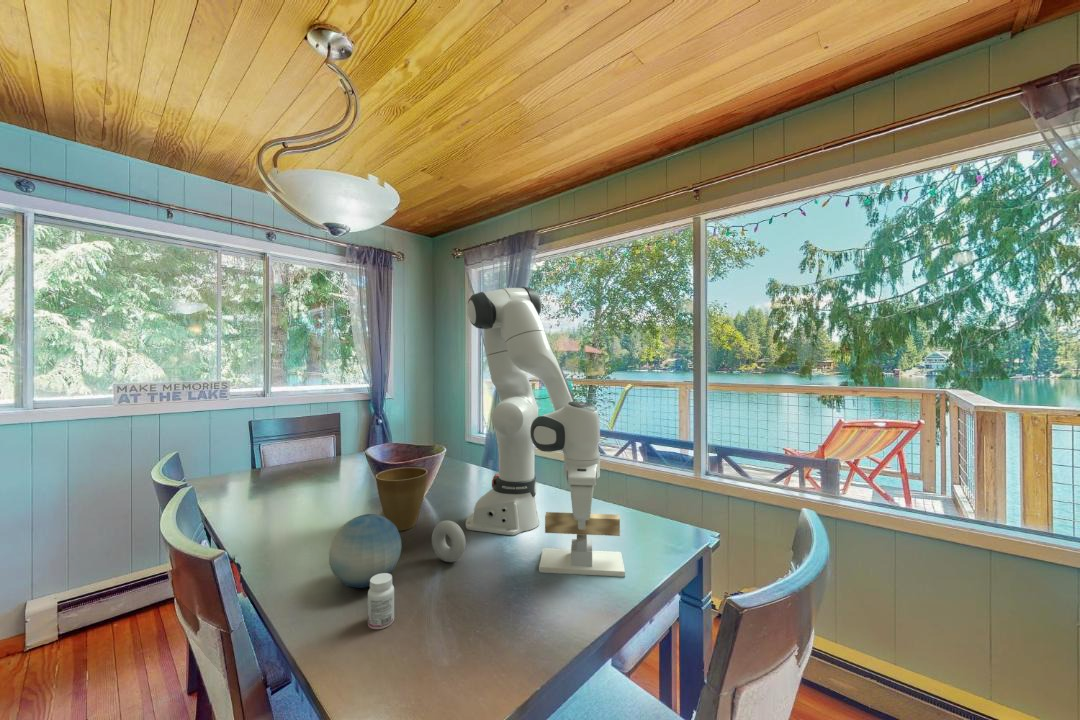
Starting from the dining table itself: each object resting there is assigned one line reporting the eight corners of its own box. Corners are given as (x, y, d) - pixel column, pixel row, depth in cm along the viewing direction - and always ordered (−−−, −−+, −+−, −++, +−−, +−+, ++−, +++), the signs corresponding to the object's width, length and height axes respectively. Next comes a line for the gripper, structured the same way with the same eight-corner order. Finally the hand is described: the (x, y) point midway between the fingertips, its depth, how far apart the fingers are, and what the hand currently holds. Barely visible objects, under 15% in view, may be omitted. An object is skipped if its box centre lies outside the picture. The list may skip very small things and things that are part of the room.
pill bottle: (372, 615, 82) (372, 572, 82) (397, 614, 82) (397, 571, 82) (364, 630, 77) (364, 585, 77) (390, 629, 77) (390, 584, 78)
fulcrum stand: (539, 572, 99) (539, 542, 99) (543, 552, 109) (543, 525, 109) (625, 576, 97) (625, 546, 97) (621, 556, 107) (621, 529, 107)
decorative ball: (400, 596, 89) (400, 525, 89) (321, 607, 84) (322, 533, 84) (402, 563, 103) (402, 502, 103) (335, 571, 99) (335, 508, 99)
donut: (468, 563, 103) (468, 522, 103) (459, 569, 100) (459, 527, 100) (438, 553, 108) (438, 515, 108) (428, 559, 105) (428, 519, 105)
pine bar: (545, 532, 102) (545, 516, 102) (546, 527, 105) (546, 512, 105) (619, 536, 100) (619, 519, 100) (618, 530, 103) (618, 514, 103)
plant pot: (425, 514, 135) (426, 465, 136) (428, 532, 121) (429, 477, 121) (376, 520, 131) (376, 468, 131) (373, 539, 117) (374, 481, 117)
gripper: (570, 458, 113) (570, 509, 113) (567, 479, 93) (567, 541, 93) (593, 459, 113) (593, 510, 113) (596, 480, 92) (595, 543, 92)
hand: (581, 524), depth 103 cm, fingers closed on pine bar, 3 cm apart
